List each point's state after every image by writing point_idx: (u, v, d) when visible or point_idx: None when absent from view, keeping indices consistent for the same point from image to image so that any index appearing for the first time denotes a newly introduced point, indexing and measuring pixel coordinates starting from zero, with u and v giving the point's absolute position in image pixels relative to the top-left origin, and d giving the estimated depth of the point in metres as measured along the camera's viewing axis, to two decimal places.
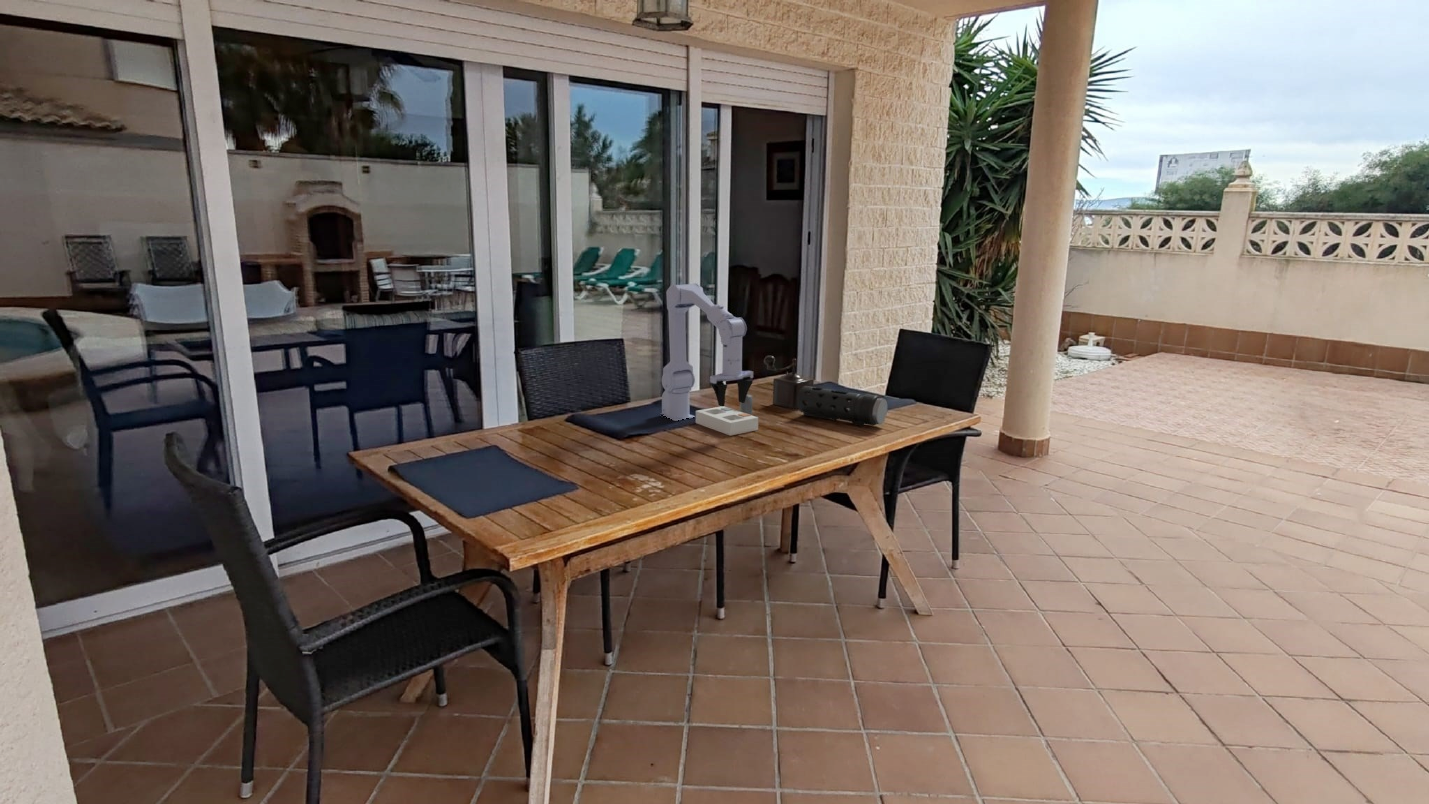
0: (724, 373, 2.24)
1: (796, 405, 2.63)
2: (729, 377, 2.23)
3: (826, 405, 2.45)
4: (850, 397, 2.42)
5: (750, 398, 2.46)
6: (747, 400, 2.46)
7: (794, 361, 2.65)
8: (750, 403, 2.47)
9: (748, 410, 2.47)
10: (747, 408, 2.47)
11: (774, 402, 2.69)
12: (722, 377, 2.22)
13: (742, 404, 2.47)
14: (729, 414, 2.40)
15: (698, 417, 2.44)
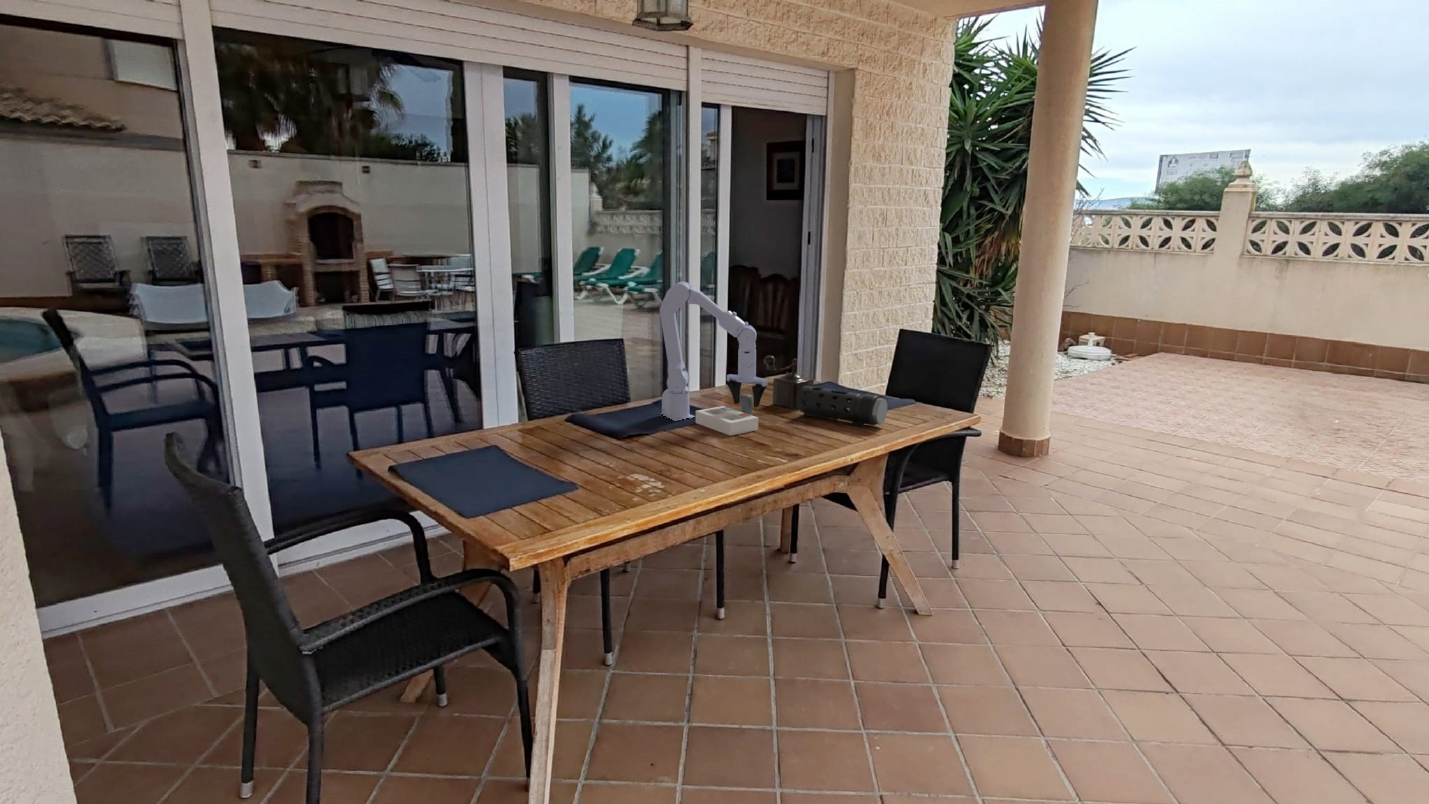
0: None
1: (796, 405, 2.63)
2: (736, 378, 2.46)
3: (826, 405, 2.45)
4: (850, 397, 2.42)
5: (750, 398, 2.46)
6: (748, 400, 2.46)
7: (794, 361, 2.65)
8: (750, 403, 2.47)
9: (748, 410, 2.47)
10: (747, 408, 2.47)
11: (774, 402, 2.69)
12: (732, 377, 2.48)
13: (742, 404, 2.47)
14: (729, 414, 2.40)
15: (698, 417, 2.44)
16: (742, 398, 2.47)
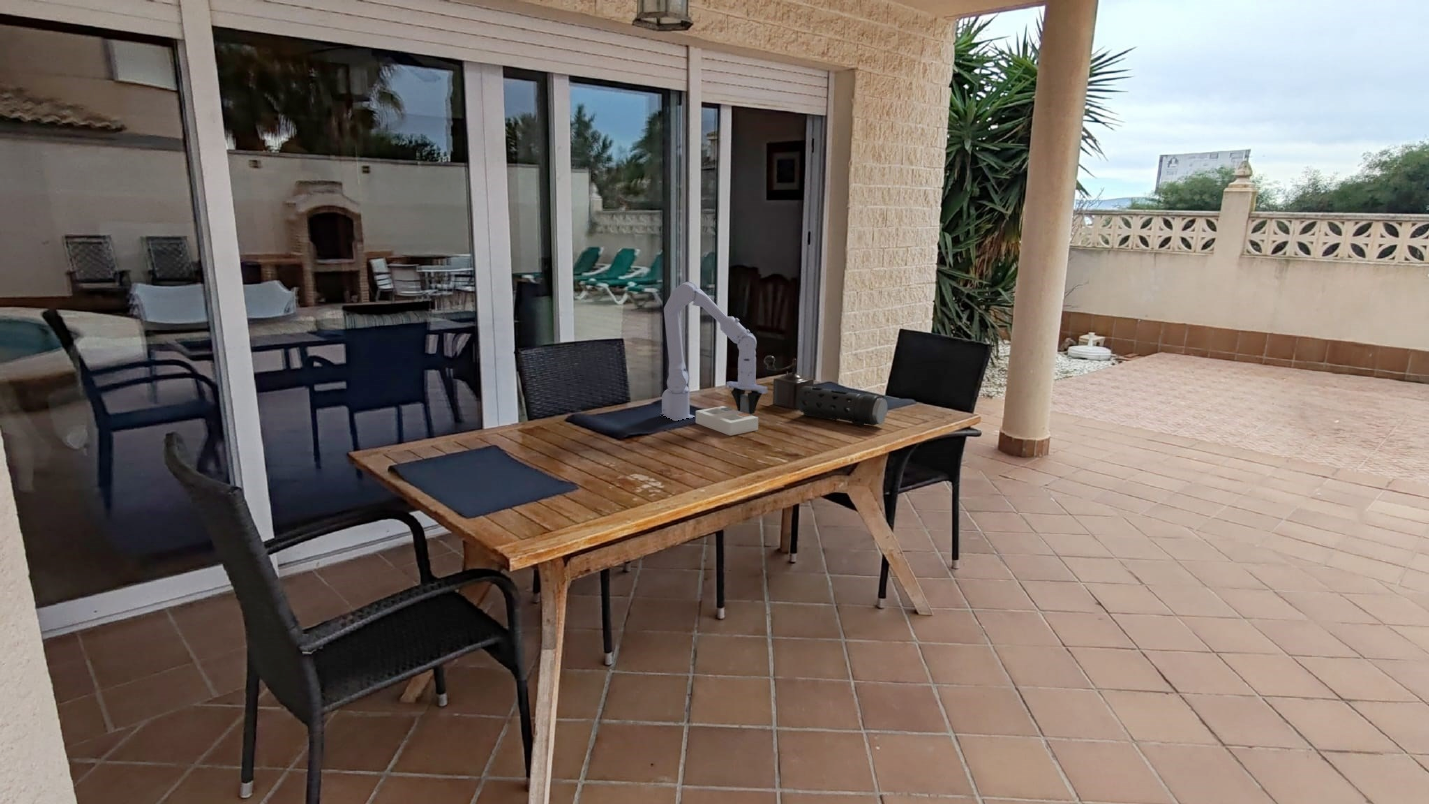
0: None
1: (796, 405, 2.63)
2: (736, 385, 2.47)
3: (826, 405, 2.45)
4: (850, 397, 2.42)
5: None
6: (748, 400, 2.46)
7: (794, 361, 2.65)
8: None
9: (748, 410, 2.47)
10: (747, 408, 2.47)
11: (774, 402, 2.69)
12: (732, 384, 2.48)
13: (742, 404, 2.47)
14: (729, 414, 2.40)
15: (698, 417, 2.44)
16: (742, 398, 2.47)
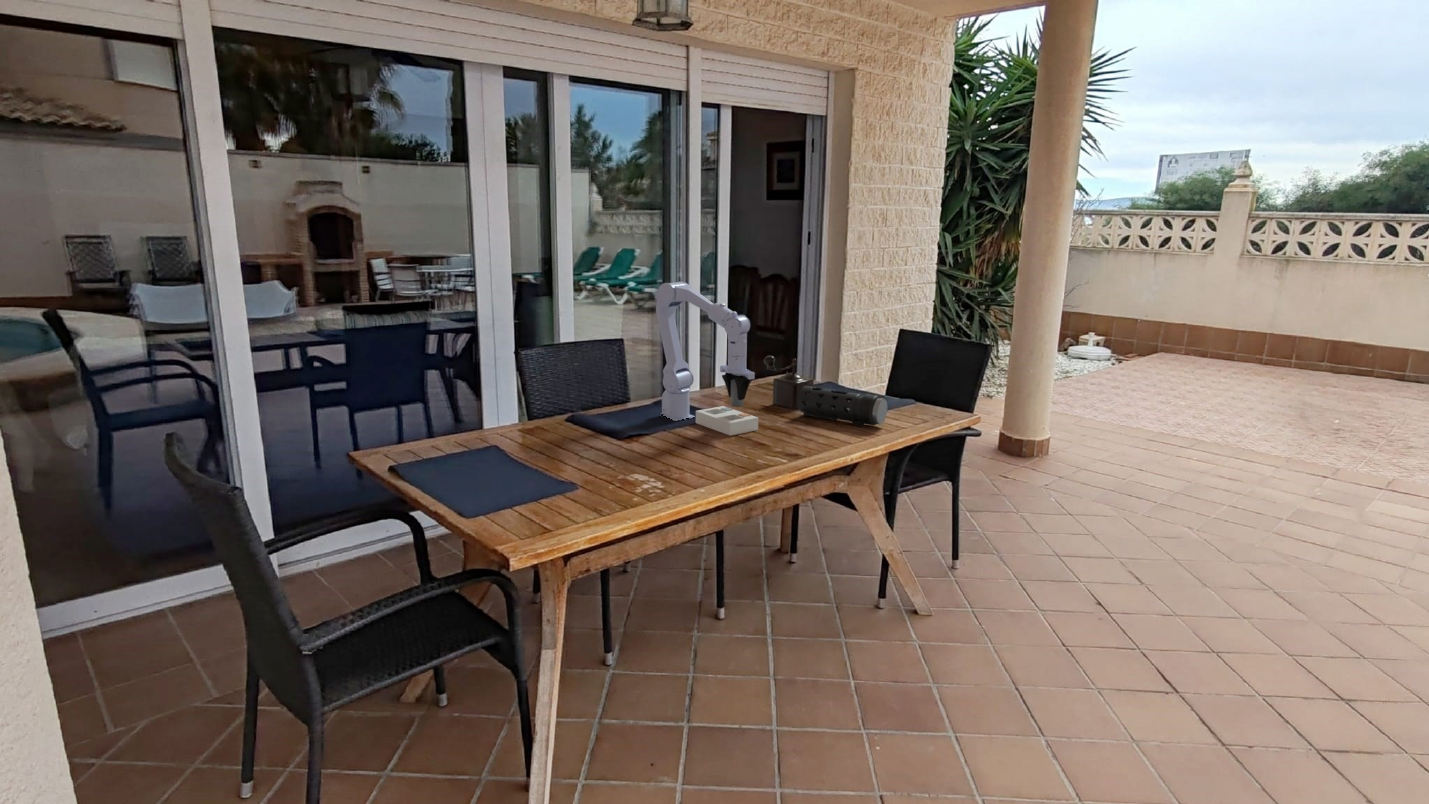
0: None
1: (796, 405, 2.63)
2: (726, 369, 2.37)
3: (826, 405, 2.45)
4: (850, 397, 2.42)
5: None
6: None
7: (794, 361, 2.65)
8: None
9: (737, 396, 2.36)
10: (736, 393, 2.36)
11: (774, 402, 2.69)
12: (724, 368, 2.39)
13: (732, 389, 2.36)
14: (729, 414, 2.40)
15: (698, 417, 2.44)
16: (731, 383, 2.36)
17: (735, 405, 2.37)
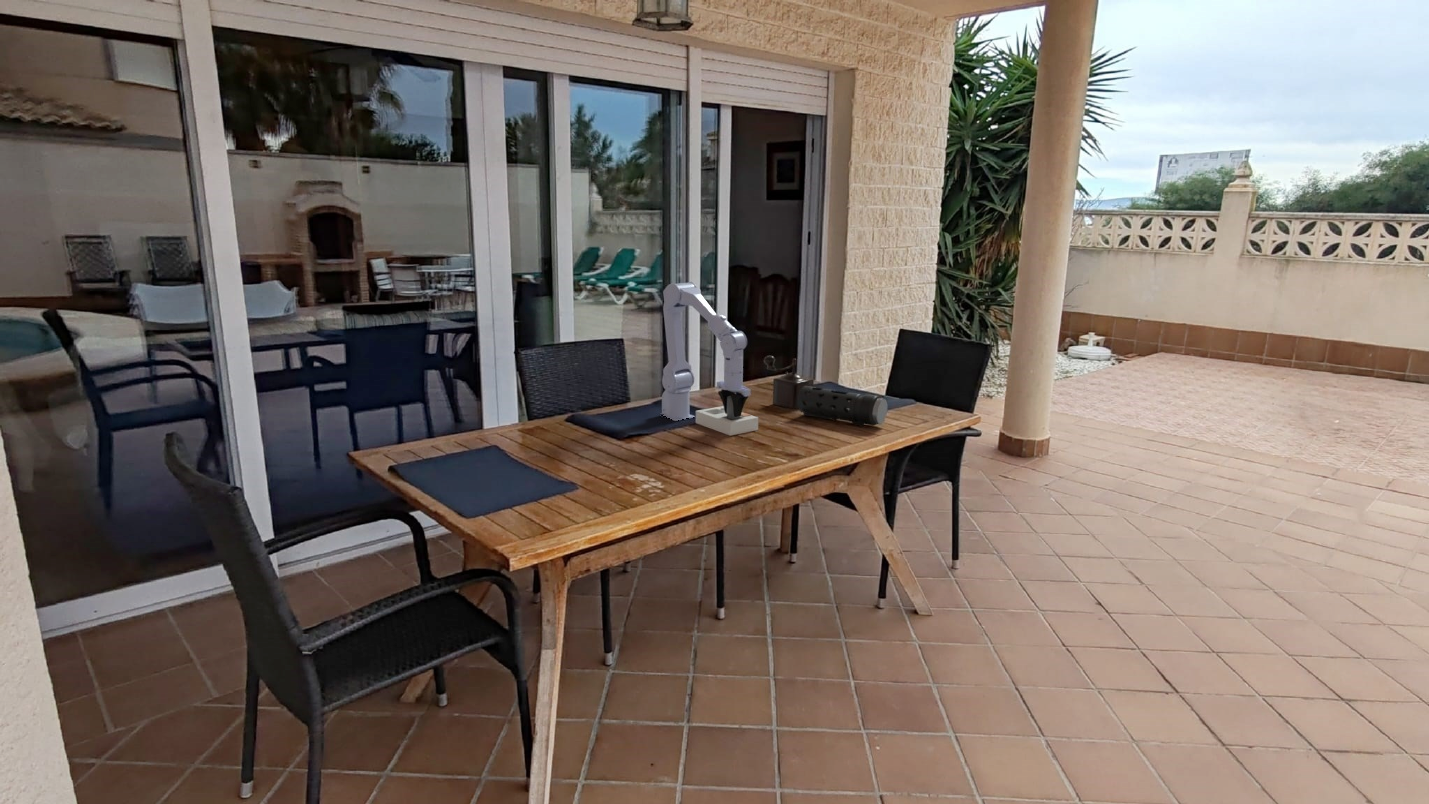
0: None
1: (796, 405, 2.63)
2: (722, 386, 2.35)
3: (826, 405, 2.45)
4: (850, 397, 2.42)
5: None
6: None
7: (794, 361, 2.65)
8: None
9: (733, 413, 2.34)
10: (732, 410, 2.34)
11: (774, 402, 2.69)
12: (720, 384, 2.37)
13: (728, 406, 2.34)
14: None
15: (698, 417, 2.44)
16: (728, 399, 2.34)
17: None
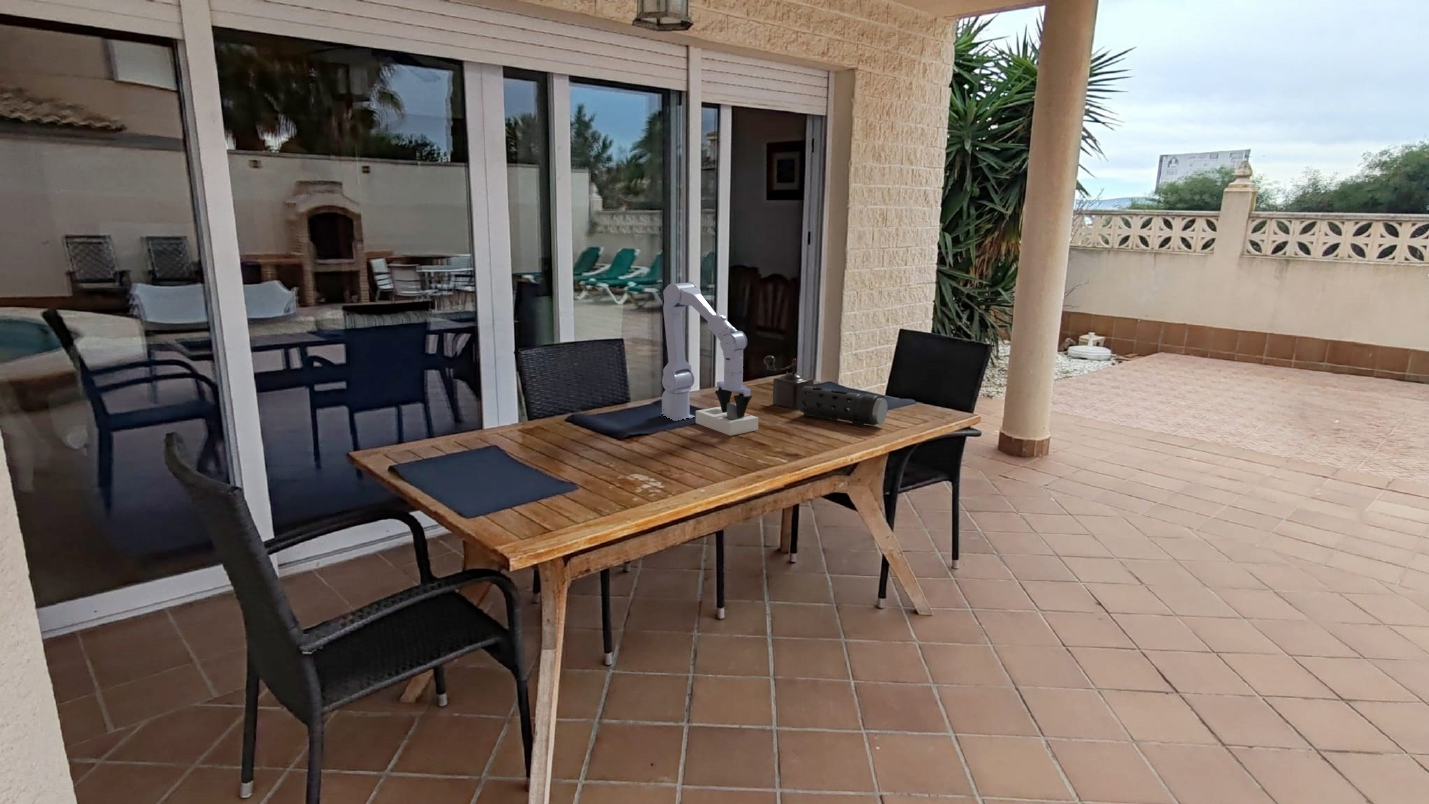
0: None
1: (796, 405, 2.63)
2: (722, 386, 2.35)
3: (826, 405, 2.45)
4: (850, 397, 2.42)
5: (735, 407, 2.34)
6: (733, 409, 2.34)
7: (794, 361, 2.65)
8: (736, 412, 2.34)
9: (733, 419, 2.34)
10: (732, 417, 2.34)
11: (774, 402, 2.69)
12: (720, 384, 2.37)
13: (727, 413, 2.35)
14: None
15: (698, 417, 2.44)
16: (727, 406, 2.34)
17: None
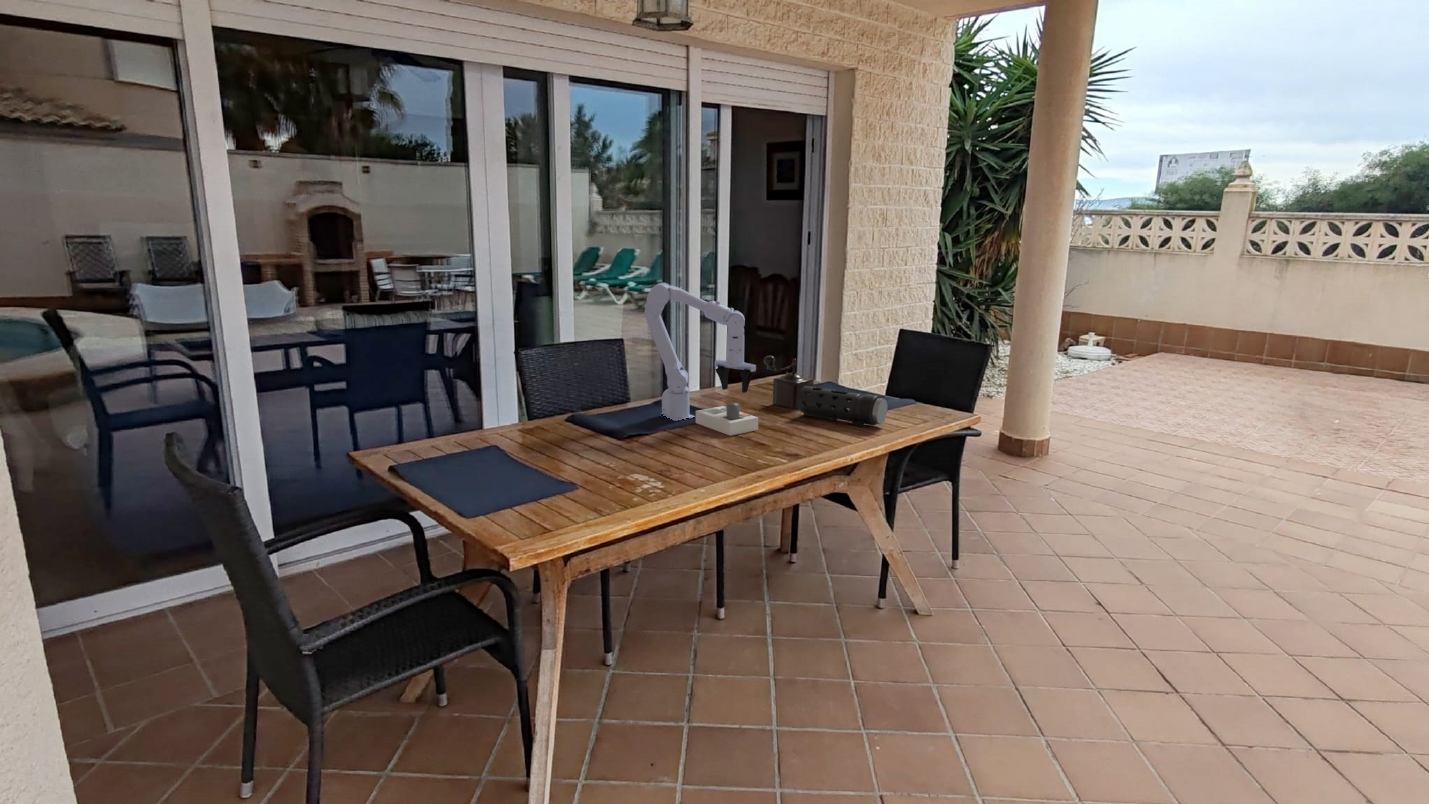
0: None
1: (796, 405, 2.63)
2: (724, 364, 2.46)
3: (826, 405, 2.45)
4: (850, 397, 2.42)
5: (735, 407, 2.34)
6: (732, 409, 2.34)
7: (794, 361, 2.65)
8: (735, 412, 2.34)
9: (733, 419, 2.34)
10: (731, 417, 2.34)
11: (774, 402, 2.69)
12: (720, 362, 2.47)
13: (727, 413, 2.35)
14: None
15: (698, 417, 2.44)
16: (727, 406, 2.34)
17: None
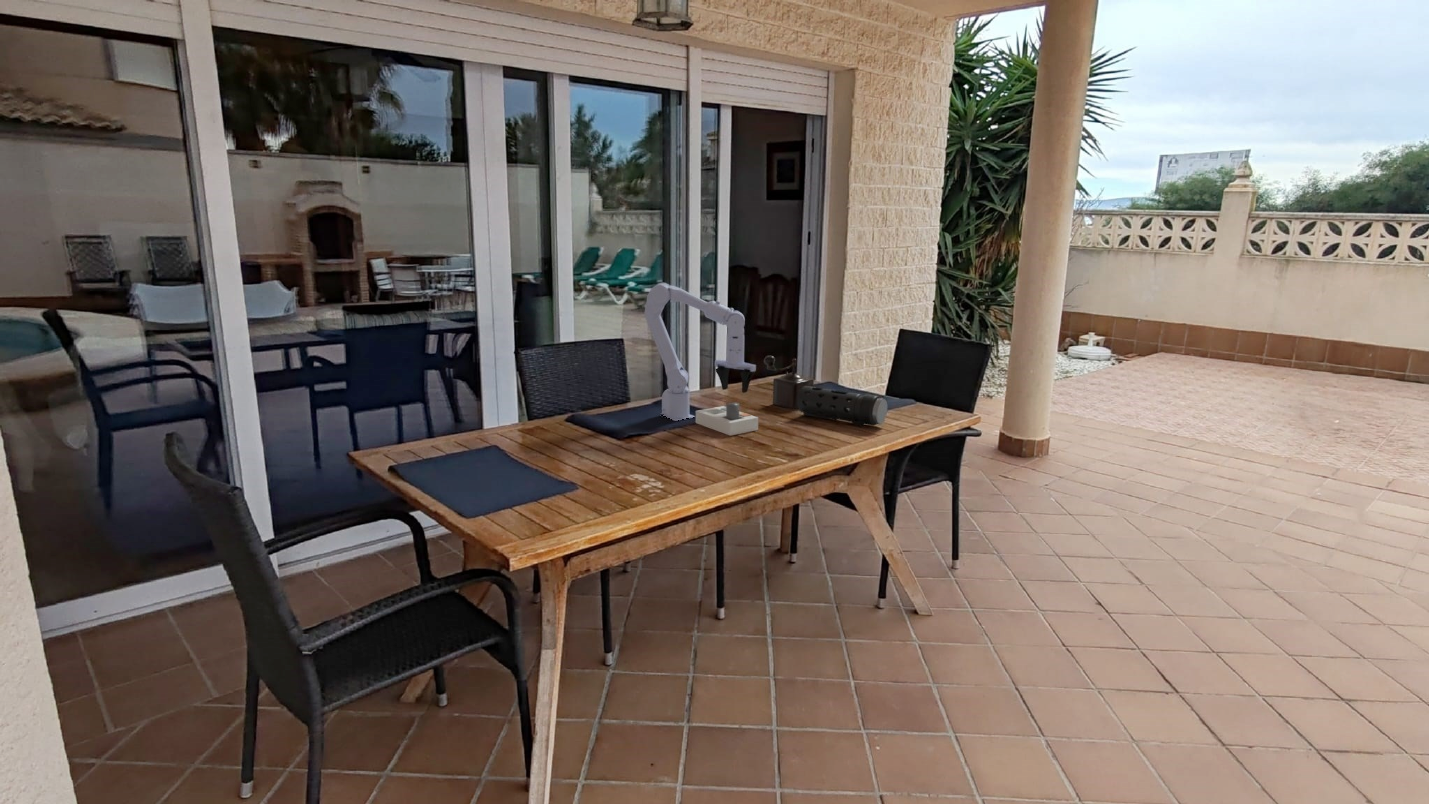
0: None
1: (796, 405, 2.63)
2: (724, 364, 2.46)
3: (826, 405, 2.45)
4: (850, 397, 2.42)
5: (735, 407, 2.34)
6: (732, 409, 2.34)
7: (794, 361, 2.65)
8: (735, 412, 2.34)
9: (733, 419, 2.34)
10: (731, 417, 2.34)
11: (774, 402, 2.69)
12: (720, 362, 2.47)
13: (727, 413, 2.35)
14: None
15: (698, 417, 2.44)
16: (727, 406, 2.34)
17: None
